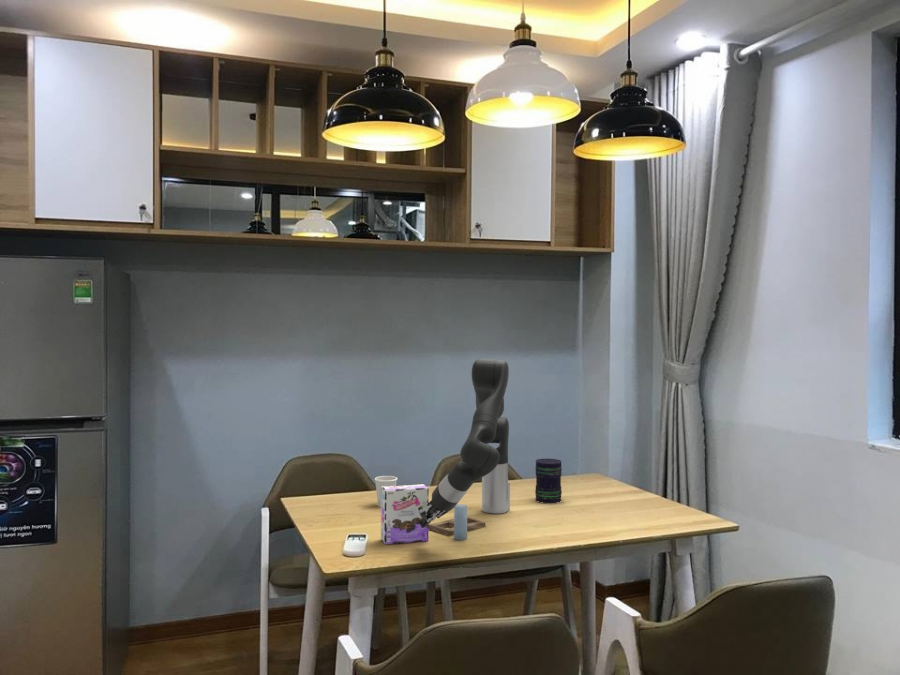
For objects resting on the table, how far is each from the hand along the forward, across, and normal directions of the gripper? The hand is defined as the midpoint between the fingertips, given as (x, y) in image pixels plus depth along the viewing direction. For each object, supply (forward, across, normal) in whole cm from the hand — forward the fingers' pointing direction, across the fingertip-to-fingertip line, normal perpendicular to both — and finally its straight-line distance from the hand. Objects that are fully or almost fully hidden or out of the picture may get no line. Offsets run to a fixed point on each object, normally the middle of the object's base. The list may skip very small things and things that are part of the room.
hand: (422, 525), depth 210 cm
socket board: (+10, -21, -1) cm, 23 cm away
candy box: (+10, 0, -1) cm, 11 cm away
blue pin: (+3, -14, +6) cm, 15 cm away
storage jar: (+12, -72, -3) cm, 73 cm away
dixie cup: (+37, -22, -28) cm, 52 cm away
